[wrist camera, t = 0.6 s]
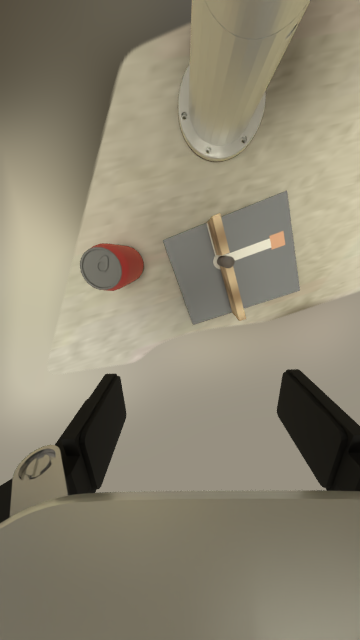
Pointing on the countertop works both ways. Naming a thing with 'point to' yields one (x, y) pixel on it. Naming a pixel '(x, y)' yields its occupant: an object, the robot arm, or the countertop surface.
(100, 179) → the countertop surface
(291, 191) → the countertop surface
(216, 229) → the bar
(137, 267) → the beer can
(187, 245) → the card
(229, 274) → the fence gate
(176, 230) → the countertop surface
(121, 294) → the countertop surface
